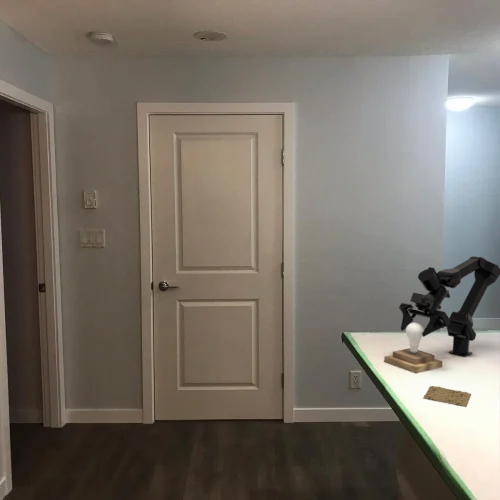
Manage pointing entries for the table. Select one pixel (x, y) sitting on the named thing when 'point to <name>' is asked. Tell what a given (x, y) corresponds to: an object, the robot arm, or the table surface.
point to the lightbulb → (414, 335)
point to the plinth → (411, 366)
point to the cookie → (447, 396)
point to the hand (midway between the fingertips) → (411, 332)
